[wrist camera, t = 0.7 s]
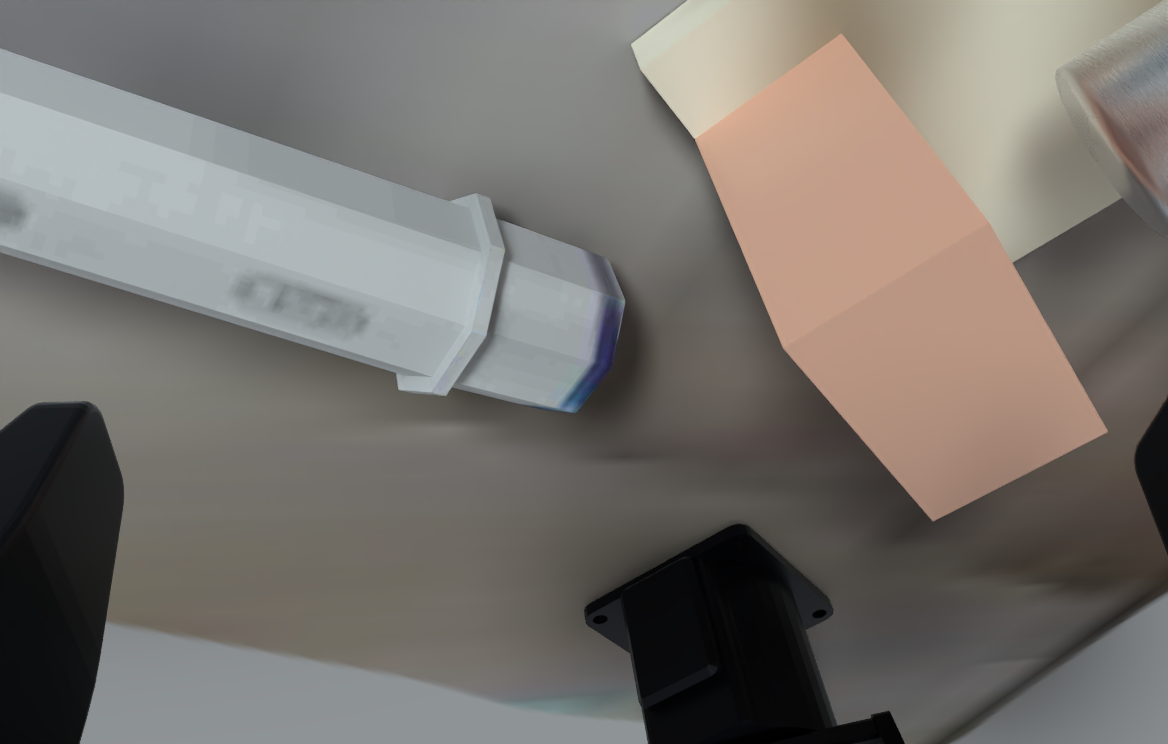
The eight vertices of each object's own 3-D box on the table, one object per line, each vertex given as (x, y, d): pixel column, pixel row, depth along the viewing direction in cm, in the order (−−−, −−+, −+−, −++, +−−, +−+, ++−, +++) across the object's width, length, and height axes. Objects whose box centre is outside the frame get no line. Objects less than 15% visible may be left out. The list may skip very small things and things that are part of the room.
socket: (841, 33, 19) (989, 222, 14) (957, 225, 23) (1108, 431, 18) (694, 138, 20) (783, 348, 15) (826, 306, 24) (933, 521, 19)
